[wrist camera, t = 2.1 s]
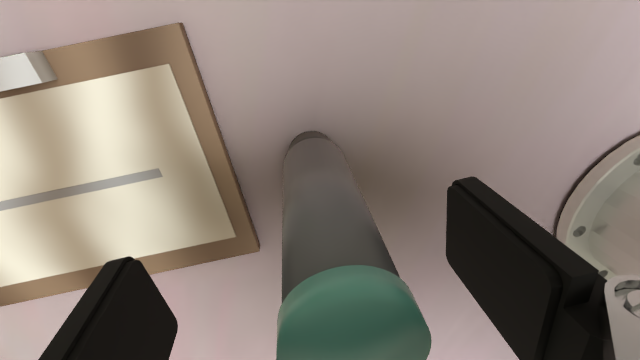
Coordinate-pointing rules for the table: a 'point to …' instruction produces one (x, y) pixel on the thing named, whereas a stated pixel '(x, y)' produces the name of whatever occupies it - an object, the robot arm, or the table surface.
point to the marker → (338, 268)
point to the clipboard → (111, 164)
